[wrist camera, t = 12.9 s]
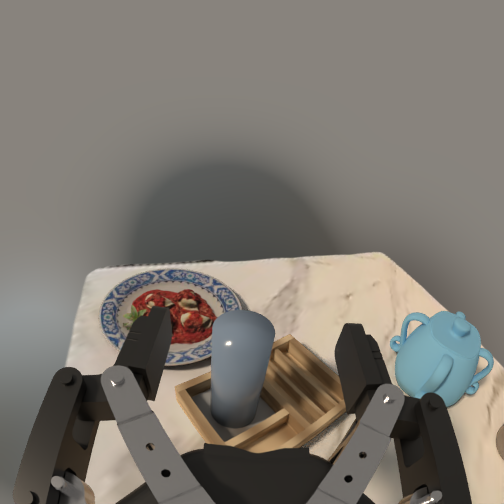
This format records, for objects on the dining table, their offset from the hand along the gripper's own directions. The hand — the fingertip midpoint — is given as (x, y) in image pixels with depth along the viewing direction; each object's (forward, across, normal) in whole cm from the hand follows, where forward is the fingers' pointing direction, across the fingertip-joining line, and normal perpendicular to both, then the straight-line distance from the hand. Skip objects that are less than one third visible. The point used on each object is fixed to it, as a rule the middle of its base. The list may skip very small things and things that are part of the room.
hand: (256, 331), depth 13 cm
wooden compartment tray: (+12, -4, +27) cm, 30 cm away
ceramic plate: (+29, +13, +27) cm, 42 cm away
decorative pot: (+16, -33, +28) cm, 46 cm away
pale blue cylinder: (+10, 0, +26) cm, 28 cm away
